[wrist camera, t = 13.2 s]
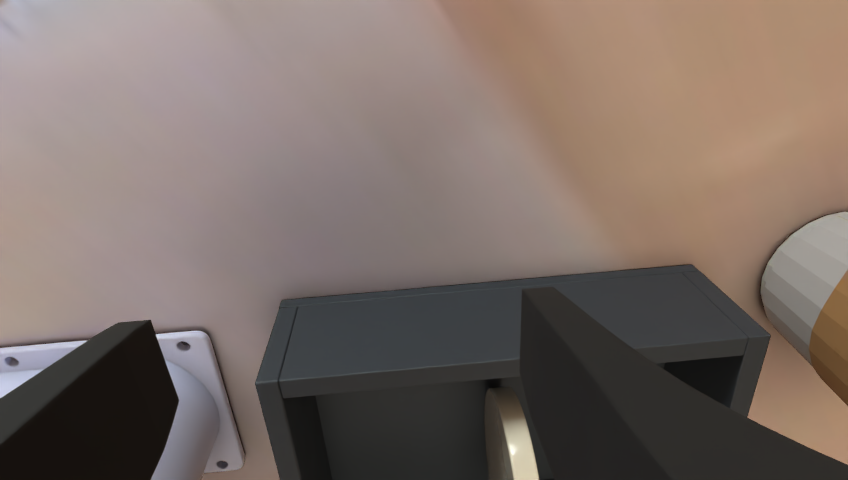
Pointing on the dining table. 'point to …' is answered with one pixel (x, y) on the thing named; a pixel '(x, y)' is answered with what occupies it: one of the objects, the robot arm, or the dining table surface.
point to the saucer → (507, 437)
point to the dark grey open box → (470, 367)
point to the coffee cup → (813, 296)
